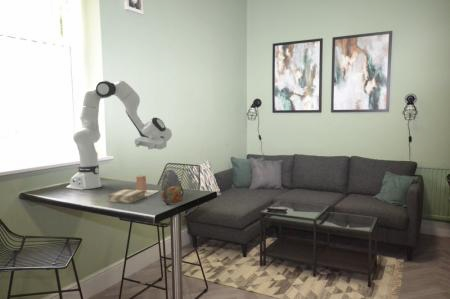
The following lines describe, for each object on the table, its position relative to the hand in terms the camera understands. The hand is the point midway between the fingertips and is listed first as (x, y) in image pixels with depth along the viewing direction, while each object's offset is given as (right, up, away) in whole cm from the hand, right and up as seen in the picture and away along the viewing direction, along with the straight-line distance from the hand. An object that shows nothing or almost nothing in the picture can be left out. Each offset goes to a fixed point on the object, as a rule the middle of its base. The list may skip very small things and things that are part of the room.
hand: (142, 146), depth 231 cm
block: (+1, -28, -9) cm, 29 cm away
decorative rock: (+21, -28, -14) cm, 38 cm away
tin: (+24, -30, -32) cm, 50 cm away
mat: (+1, -28, -9) cm, 29 cm away
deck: (-3, -30, -24) cm, 38 cm away
